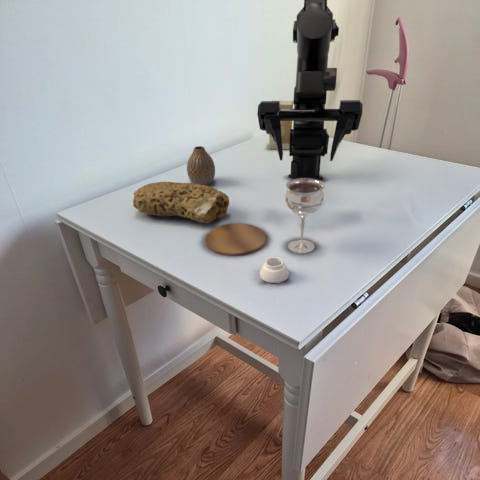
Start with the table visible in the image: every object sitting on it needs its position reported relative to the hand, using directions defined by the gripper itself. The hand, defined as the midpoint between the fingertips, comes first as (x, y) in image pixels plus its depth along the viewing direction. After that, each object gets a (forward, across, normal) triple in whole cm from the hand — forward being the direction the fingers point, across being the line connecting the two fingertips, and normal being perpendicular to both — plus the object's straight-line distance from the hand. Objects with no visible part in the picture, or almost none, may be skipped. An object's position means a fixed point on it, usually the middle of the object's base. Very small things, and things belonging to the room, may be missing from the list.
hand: (306, 159), depth 78 cm
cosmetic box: (-25, -8, +45) cm, 52 cm away
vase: (-5, -26, +25) cm, 36 cm away
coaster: (+14, -13, +5) cm, 20 cm away
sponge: (+7, -27, +12) cm, 30 cm away
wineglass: (+16, 0, +4) cm, 16 cm away
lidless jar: (+23, -4, -4) cm, 24 cm away
